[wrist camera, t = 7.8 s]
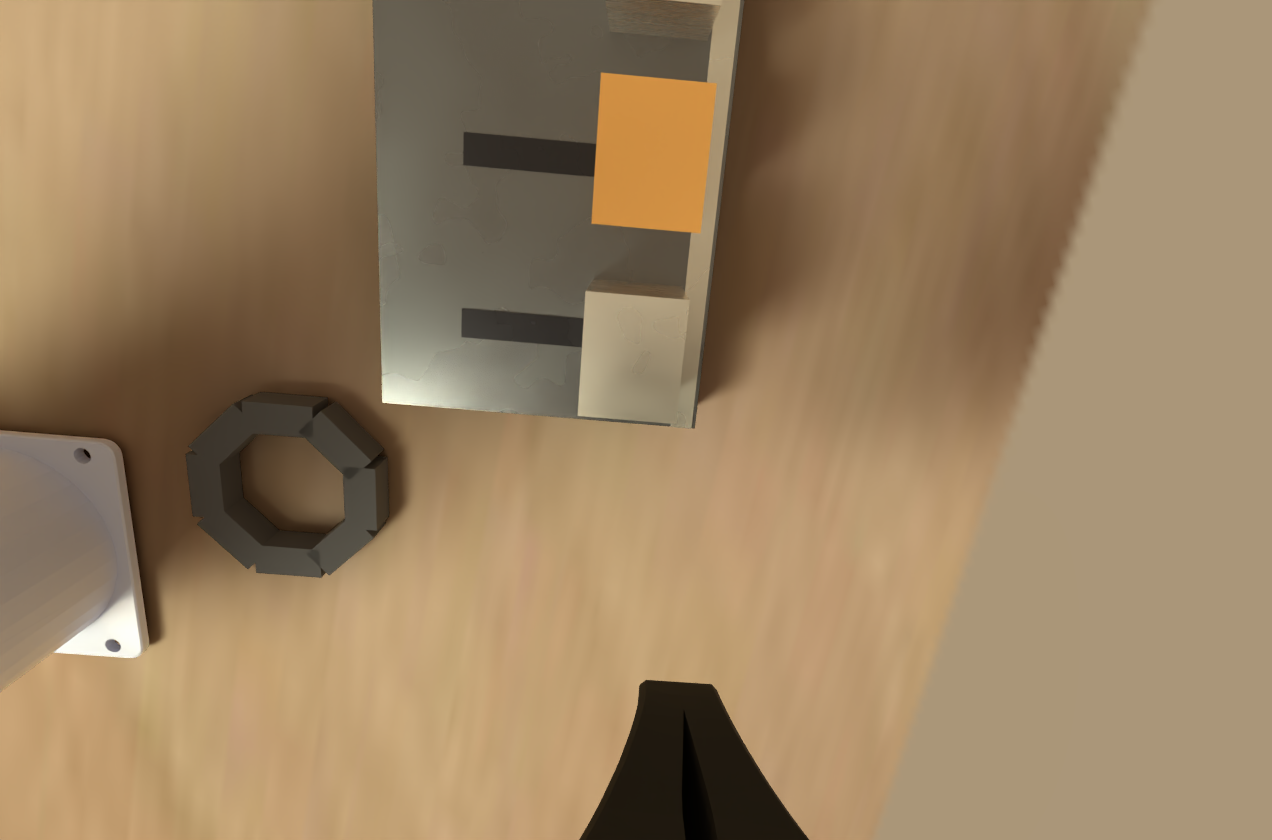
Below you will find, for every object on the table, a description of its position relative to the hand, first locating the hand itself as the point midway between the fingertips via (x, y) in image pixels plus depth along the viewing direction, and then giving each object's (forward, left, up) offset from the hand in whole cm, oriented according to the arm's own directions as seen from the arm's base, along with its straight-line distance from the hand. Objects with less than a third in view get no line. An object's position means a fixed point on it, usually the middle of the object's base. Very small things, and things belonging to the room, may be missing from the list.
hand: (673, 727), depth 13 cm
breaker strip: (-4, +10, -10) cm, 15 cm away
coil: (-12, 0, -10) cm, 16 cm away
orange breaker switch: (-1, +10, -8) cm, 13 cm away
